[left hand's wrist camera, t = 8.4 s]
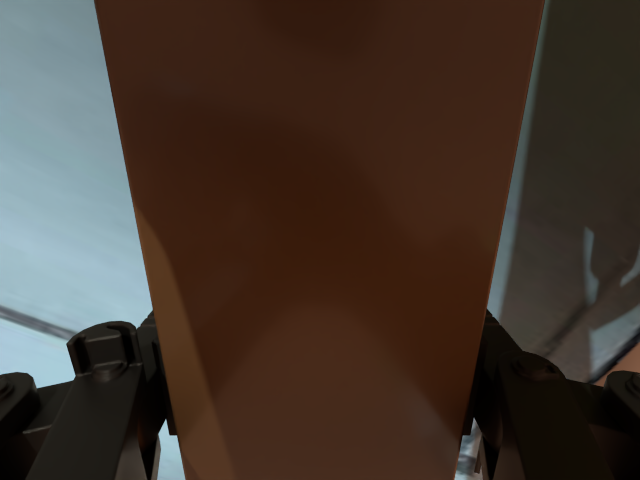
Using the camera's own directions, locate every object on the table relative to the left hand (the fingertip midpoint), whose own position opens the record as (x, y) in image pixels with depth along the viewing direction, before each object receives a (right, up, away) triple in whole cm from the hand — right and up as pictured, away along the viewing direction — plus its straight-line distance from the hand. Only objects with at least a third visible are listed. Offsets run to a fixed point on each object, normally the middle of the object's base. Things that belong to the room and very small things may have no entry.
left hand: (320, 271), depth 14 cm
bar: (0, +7, -2) cm, 7 cm away
